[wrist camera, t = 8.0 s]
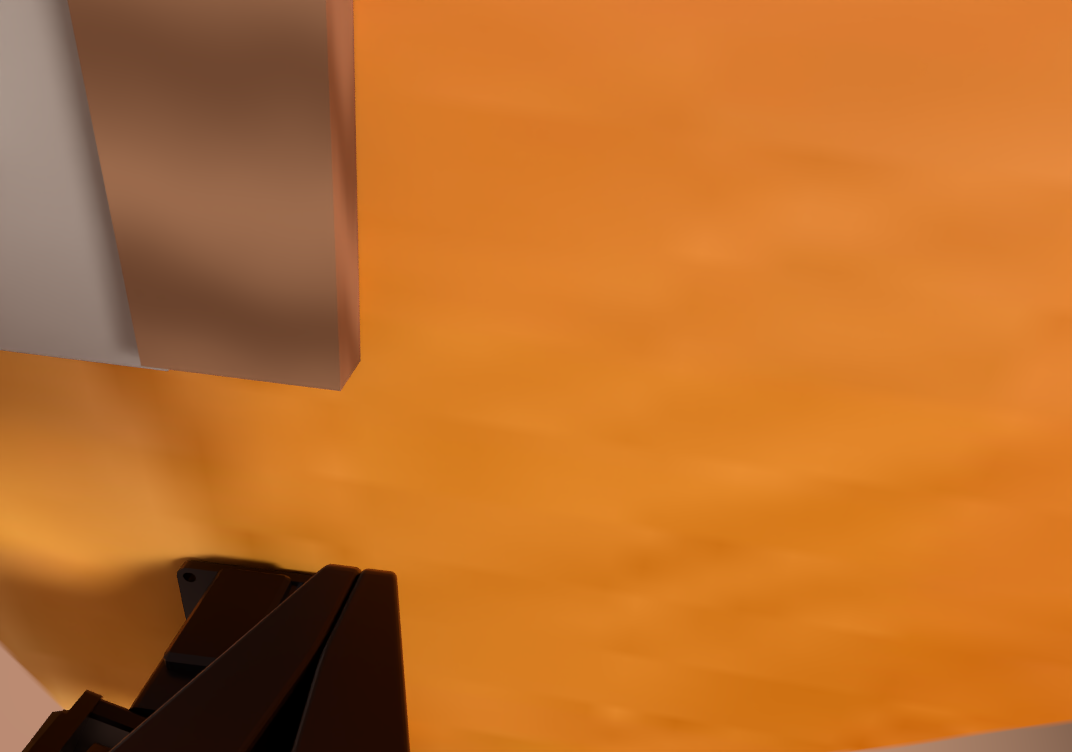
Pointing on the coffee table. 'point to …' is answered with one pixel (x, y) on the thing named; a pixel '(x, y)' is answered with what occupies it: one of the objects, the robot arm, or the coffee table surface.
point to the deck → (230, 180)
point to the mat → (54, 200)
